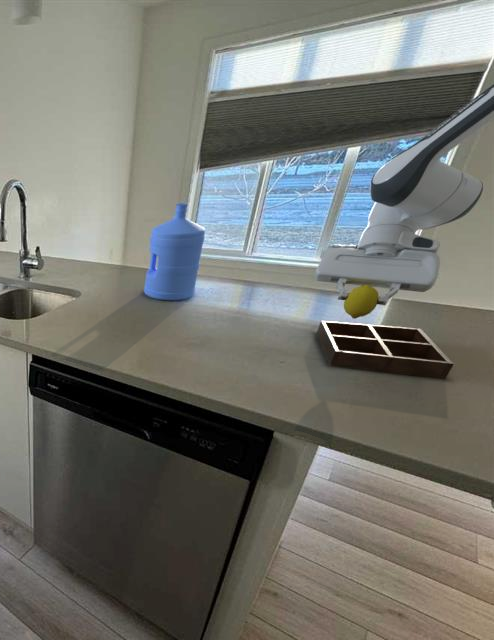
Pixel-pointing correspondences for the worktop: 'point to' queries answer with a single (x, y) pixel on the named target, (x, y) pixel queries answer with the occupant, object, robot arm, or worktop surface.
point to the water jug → (174, 257)
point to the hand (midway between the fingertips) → (361, 301)
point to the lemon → (361, 301)
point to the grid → (382, 349)
